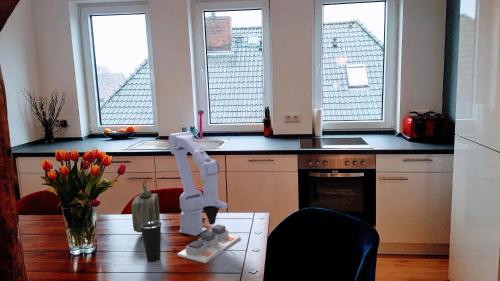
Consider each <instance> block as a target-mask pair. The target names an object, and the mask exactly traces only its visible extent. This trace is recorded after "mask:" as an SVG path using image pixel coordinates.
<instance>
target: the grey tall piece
mask: <svg viewBox="0 0 500 281" xmlns="http://www.w3.org/2000/svg"><path fill="white" fill-rule="evenodd" d="M159 202H160V201H159V194H158V193H152V192H151V190H149V189H147V179H145V178H144V179H143V181H142V190H141V191H140V192H139V194H138V195H137V196H135V197H134V199H133V201H132V202H131V220H132V227H133V228H132V229H133V231H134V232H137V233H141V235H140V236H141V237H142V238H143V235H142V230H141V228H140V225H141V224H142V223H144V222H146V221H149V220H150V219H149V208H151V220H156V221H160V220H161V219H160V218H161V217H160V203H159ZM160 222H161V221H160Z"/></svg>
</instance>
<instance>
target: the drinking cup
mask: <svg viewBox="0 0 500 281" xmlns="http://www.w3.org/2000/svg"><path fill="white" fill-rule="evenodd" d="M149 219H150V220H149V221H146V222H144V223H142V224H141V225H140V228H141V230H142V232H141V234H142V235H143V237H142V240H143V245H144V246H143V247H144V251H145V256H146V261H147V262H149V263H155V262H158V261H159V260H160V259H161V247H162V246H161V238H162V236H161V234H162V225H163V224H162V222H161V221H156V220H151V208H149Z"/></svg>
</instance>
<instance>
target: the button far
mask: <svg viewBox="0 0 500 281" xmlns="http://www.w3.org/2000/svg"><path fill="white" fill-rule="evenodd" d="M226 230H227V228H226V225H223V224H222V225H221V224H216V225H214V226H213V227H211V232H215V233H216V234H222V233H223V232H225V231H226Z"/></svg>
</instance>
